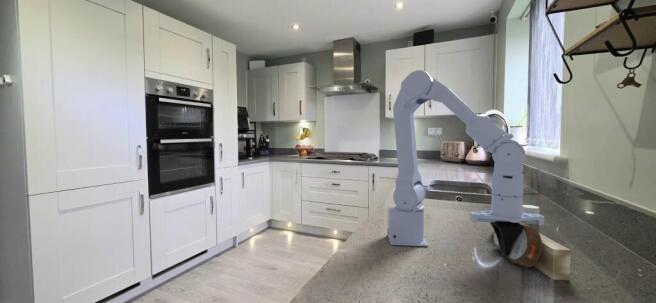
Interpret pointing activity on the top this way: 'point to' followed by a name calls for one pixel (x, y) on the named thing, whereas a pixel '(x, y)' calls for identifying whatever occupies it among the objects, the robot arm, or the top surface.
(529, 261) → the tin
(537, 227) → the pill bottle
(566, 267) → the board
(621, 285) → the top surface
